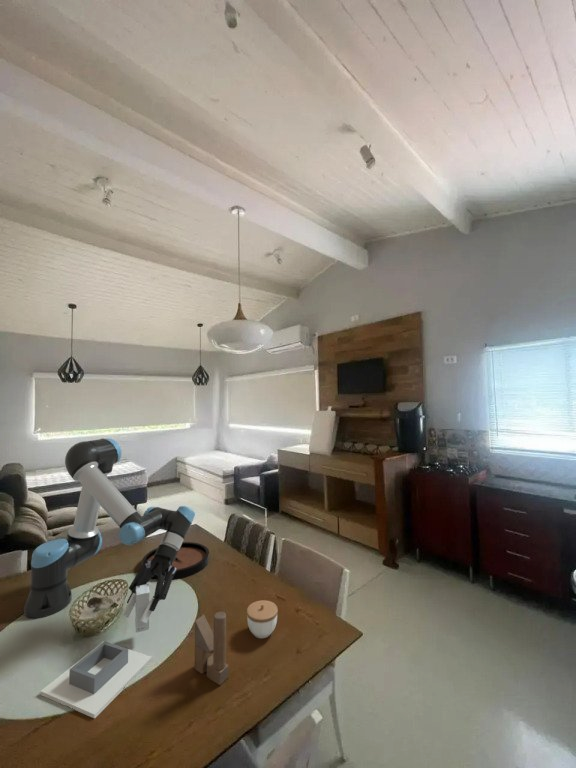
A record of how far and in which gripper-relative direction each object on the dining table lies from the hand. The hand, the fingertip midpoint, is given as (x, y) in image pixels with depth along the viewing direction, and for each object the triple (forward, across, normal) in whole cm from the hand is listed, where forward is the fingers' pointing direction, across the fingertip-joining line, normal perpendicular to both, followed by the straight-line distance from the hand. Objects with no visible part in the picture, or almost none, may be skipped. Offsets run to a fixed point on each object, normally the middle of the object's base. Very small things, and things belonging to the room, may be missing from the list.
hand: (134, 618), depth 109 cm
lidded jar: (-9, -37, -20) cm, 43 cm away
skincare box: (+1, 0, -6) cm, 6 cm away
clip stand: (+15, 0, +3) cm, 15 cm away
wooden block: (+6, -30, -6) cm, 31 cm away
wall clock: (-29, +23, -43) cm, 56 cm away
